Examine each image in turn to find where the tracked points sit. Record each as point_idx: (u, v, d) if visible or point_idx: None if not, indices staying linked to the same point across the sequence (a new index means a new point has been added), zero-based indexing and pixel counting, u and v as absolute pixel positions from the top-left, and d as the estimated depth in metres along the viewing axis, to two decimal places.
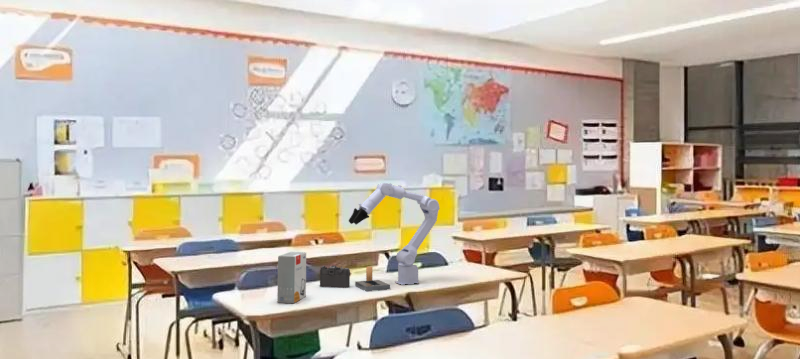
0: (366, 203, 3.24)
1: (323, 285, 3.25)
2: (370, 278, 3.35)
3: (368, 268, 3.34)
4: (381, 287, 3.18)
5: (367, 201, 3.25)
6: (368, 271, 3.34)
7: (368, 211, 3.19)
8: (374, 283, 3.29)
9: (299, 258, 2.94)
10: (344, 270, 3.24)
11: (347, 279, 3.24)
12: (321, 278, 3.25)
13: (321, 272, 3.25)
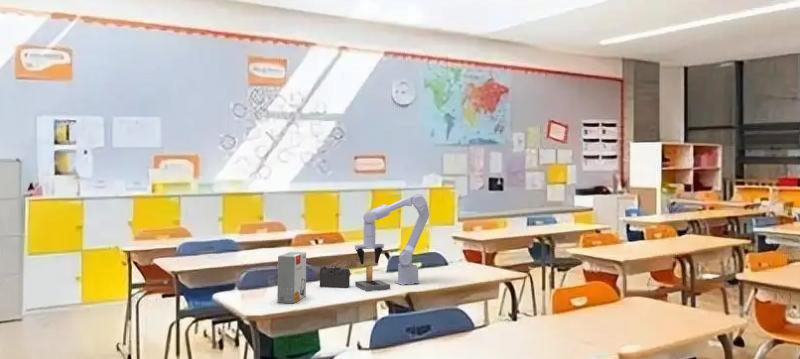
0: None
1: (323, 285, 3.25)
2: (370, 278, 3.35)
3: (368, 268, 3.34)
4: (381, 287, 3.18)
5: None
6: (368, 271, 3.34)
7: (355, 248, 3.32)
8: (374, 283, 3.29)
9: (299, 258, 2.94)
10: (344, 270, 3.24)
11: (347, 279, 3.24)
12: (321, 278, 3.25)
13: (321, 272, 3.25)
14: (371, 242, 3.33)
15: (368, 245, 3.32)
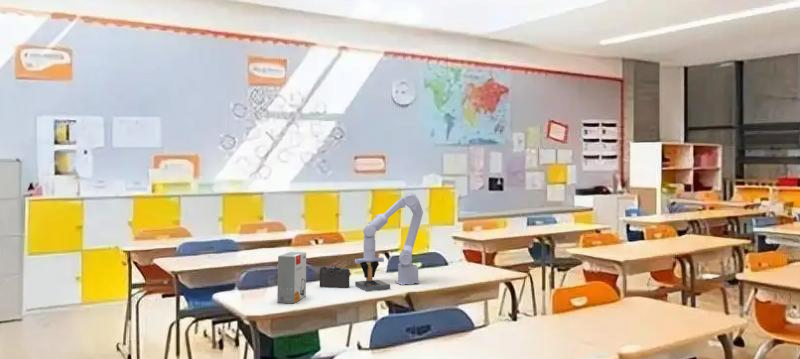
0: None
1: (323, 285, 3.25)
2: (370, 278, 3.35)
3: (368, 268, 3.34)
4: (381, 287, 3.18)
5: None
6: (368, 271, 3.34)
7: (355, 261, 3.32)
8: (374, 283, 3.29)
9: (299, 258, 2.94)
10: (344, 270, 3.23)
11: (347, 279, 3.23)
12: (321, 278, 3.25)
13: (321, 272, 3.25)
14: (371, 256, 3.33)
15: (368, 259, 3.33)
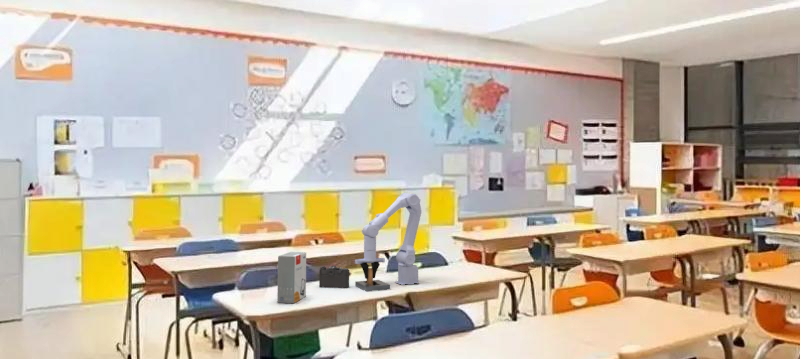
0: None
1: (322, 285, 3.24)
2: (370, 280, 3.26)
3: (368, 270, 3.26)
4: (381, 287, 3.18)
5: None
6: (368, 273, 3.26)
7: (355, 262, 3.24)
8: (374, 283, 3.29)
9: (299, 258, 2.94)
10: (343, 270, 3.23)
11: (346, 279, 3.23)
12: (320, 278, 3.25)
13: (320, 272, 3.25)
14: (372, 256, 3.24)
15: (369, 259, 3.24)
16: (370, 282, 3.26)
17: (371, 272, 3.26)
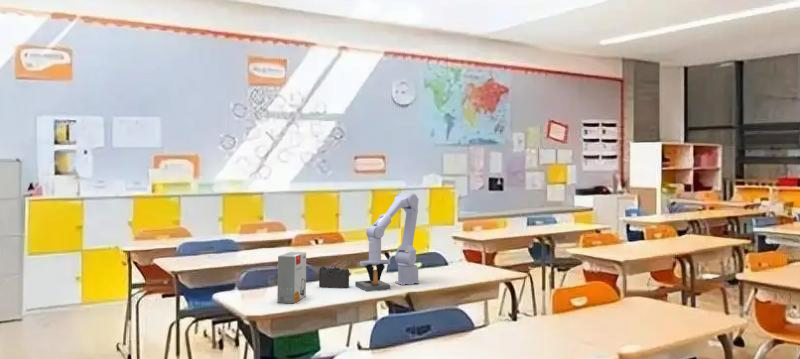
0: None
1: (322, 285, 3.24)
2: (375, 282, 3.20)
3: (373, 272, 3.20)
4: (381, 287, 3.18)
5: None
6: (373, 275, 3.20)
7: (360, 264, 3.18)
8: None
9: (299, 258, 2.94)
10: (343, 270, 3.23)
11: (346, 279, 3.23)
12: (320, 278, 3.24)
13: (320, 272, 3.24)
14: (377, 258, 3.19)
15: (374, 261, 3.18)
16: (375, 284, 3.20)
17: (376, 274, 3.21)
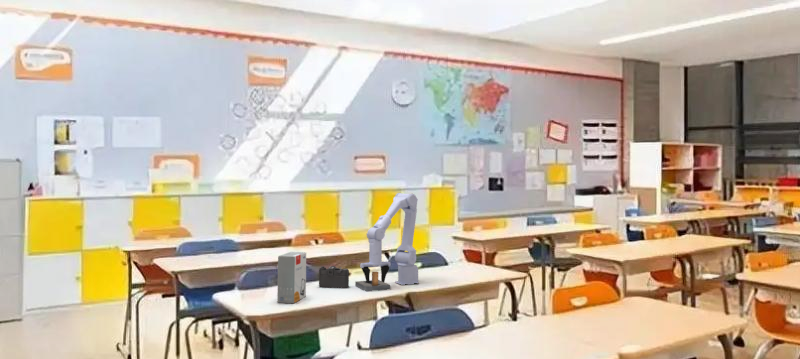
0: None
1: (322, 285, 3.24)
2: (376, 284, 3.20)
3: (374, 273, 3.20)
4: (381, 287, 3.18)
5: None
6: (374, 276, 3.20)
7: (361, 266, 3.17)
8: None
9: (299, 258, 2.94)
10: (343, 271, 3.22)
11: (346, 280, 3.22)
12: (320, 278, 3.24)
13: (320, 272, 3.24)
14: (377, 260, 3.18)
15: (374, 263, 3.18)
16: None
17: (376, 276, 3.20)
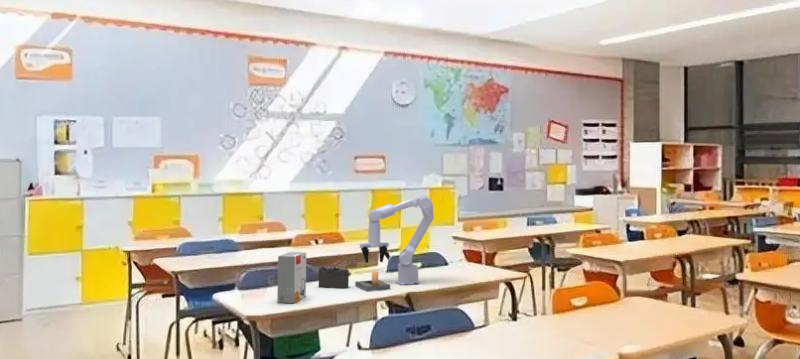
0: None
1: (322, 286, 3.24)
2: (376, 284, 3.20)
3: (374, 273, 3.20)
4: (381, 287, 3.18)
5: None
6: (374, 276, 3.20)
7: (360, 246, 3.32)
8: None
9: (299, 258, 2.94)
10: (343, 271, 3.22)
11: (346, 280, 3.22)
12: (320, 278, 3.24)
13: (320, 272, 3.24)
14: (376, 241, 3.32)
15: (373, 244, 3.32)
16: None
17: (376, 276, 3.20)
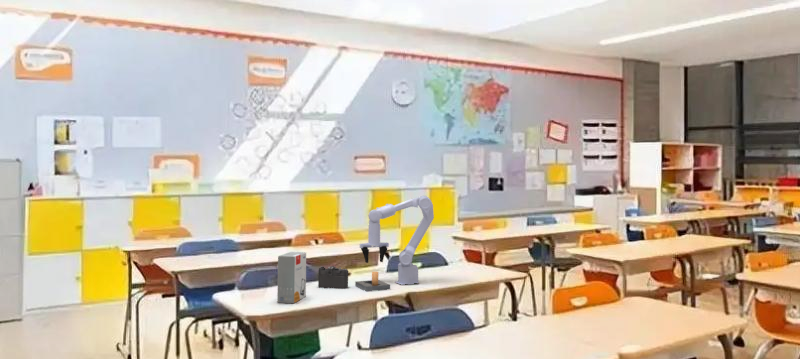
0: None
1: (321, 286, 3.23)
2: (376, 284, 3.20)
3: (374, 273, 3.20)
4: (381, 287, 3.18)
5: None
6: (374, 276, 3.20)
7: (360, 246, 3.32)
8: None
9: (299, 258, 2.94)
10: (342, 271, 3.22)
11: (345, 280, 3.22)
12: (319, 279, 3.24)
13: (319, 273, 3.24)
14: (376, 241, 3.32)
15: (373, 244, 3.32)
16: None
17: (377, 276, 3.20)
